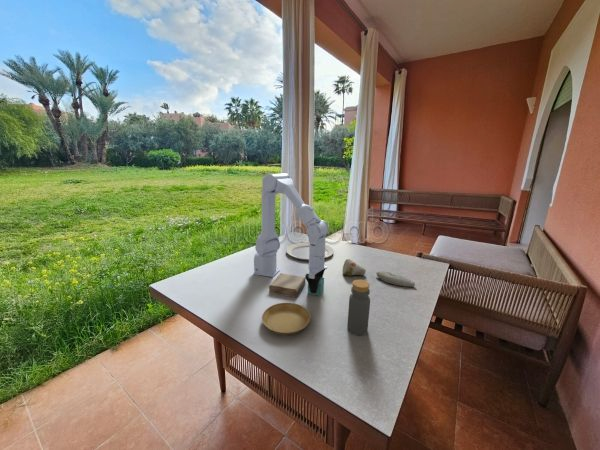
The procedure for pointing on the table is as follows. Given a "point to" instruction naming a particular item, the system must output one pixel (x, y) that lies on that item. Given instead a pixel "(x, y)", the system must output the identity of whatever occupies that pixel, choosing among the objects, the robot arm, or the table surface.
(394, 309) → the table surface
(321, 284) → the teal cube
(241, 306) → the table surface
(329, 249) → the plate
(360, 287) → the bottle
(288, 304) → the plant saucer
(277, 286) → the walnut plinth
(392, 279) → the decorative stone
